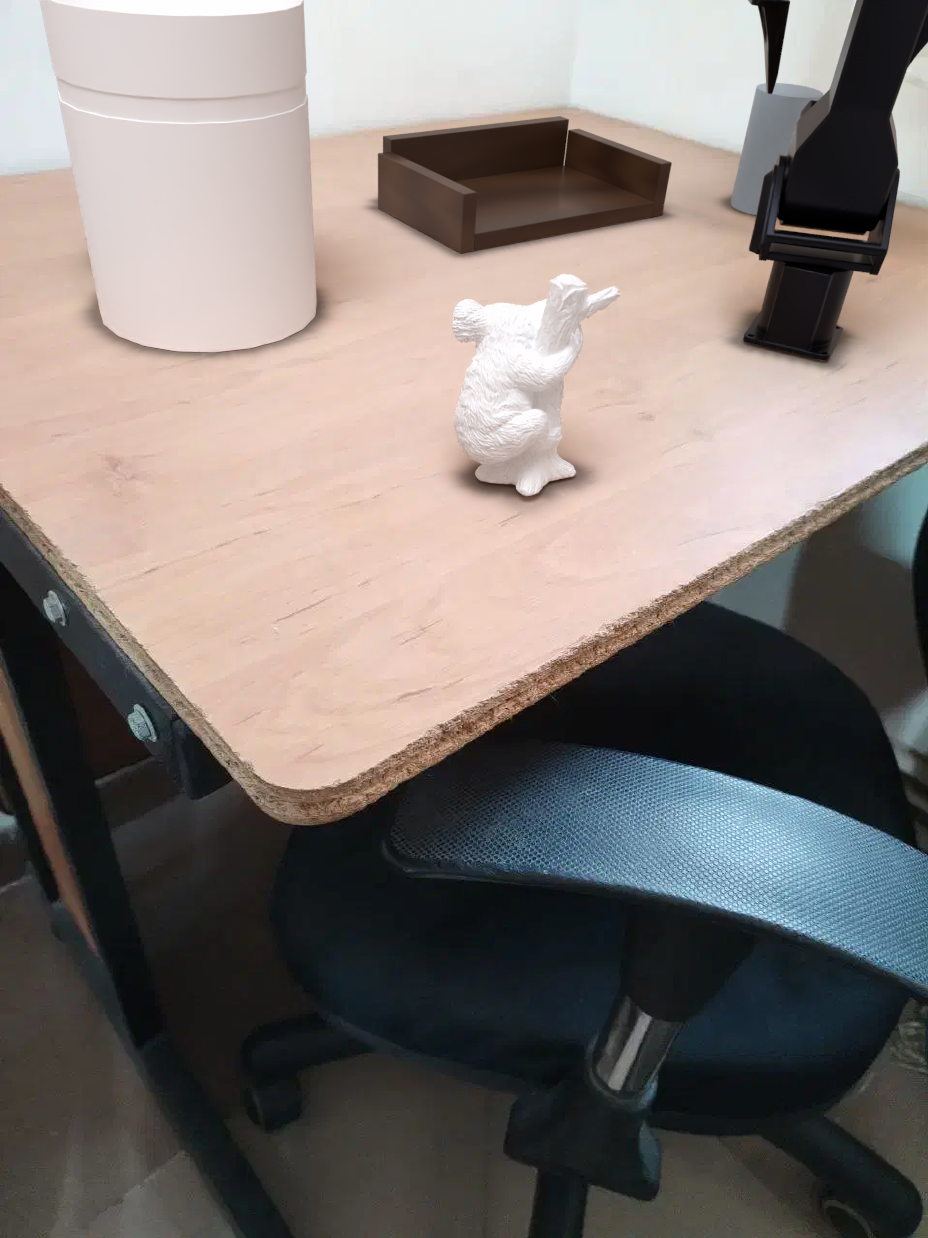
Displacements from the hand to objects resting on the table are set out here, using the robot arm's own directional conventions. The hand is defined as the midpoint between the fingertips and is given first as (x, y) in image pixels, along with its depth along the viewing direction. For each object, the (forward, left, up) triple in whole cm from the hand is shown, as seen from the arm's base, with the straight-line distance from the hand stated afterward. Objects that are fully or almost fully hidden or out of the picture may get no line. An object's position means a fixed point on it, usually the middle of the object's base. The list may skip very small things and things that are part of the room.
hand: (823, 97), depth 81 cm
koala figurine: (-50, +5, -13) cm, 52 cm away
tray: (-4, +25, -13) cm, 28 cm away
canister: (-40, +35, -13) cm, 55 cm away
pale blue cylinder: (+13, +5, -13) cm, 19 cm away
